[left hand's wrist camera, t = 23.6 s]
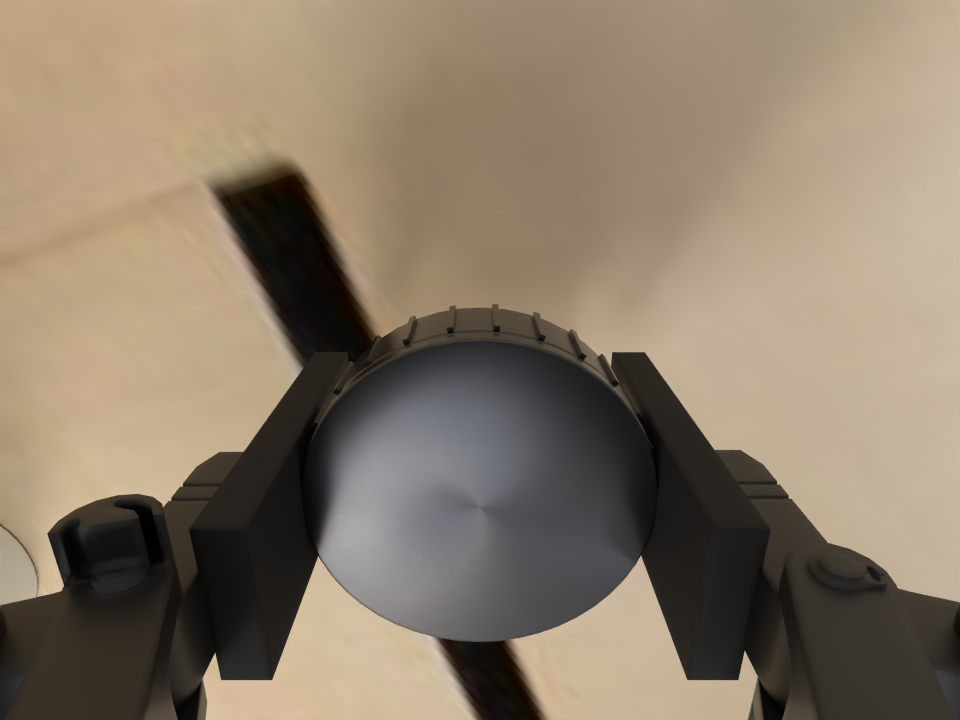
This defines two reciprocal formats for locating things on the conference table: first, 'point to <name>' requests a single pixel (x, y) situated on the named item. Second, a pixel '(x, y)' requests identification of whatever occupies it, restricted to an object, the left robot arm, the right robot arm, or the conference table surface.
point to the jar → (15, 571)
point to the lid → (479, 476)
